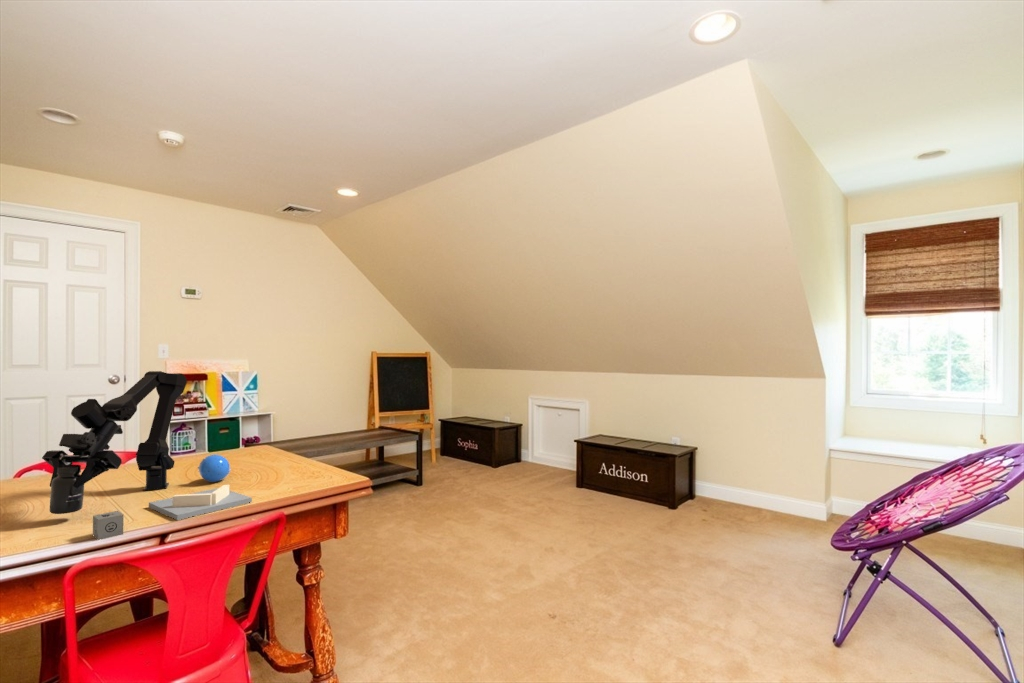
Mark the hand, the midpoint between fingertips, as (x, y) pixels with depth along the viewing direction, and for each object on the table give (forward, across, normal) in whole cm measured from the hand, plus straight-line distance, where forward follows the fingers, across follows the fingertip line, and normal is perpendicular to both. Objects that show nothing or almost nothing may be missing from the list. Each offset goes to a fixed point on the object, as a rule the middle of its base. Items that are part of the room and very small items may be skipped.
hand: (63, 486), depth 136 cm
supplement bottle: (+4, 0, +6) cm, 7 cm away
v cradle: (-4, +28, +18) cm, 33 cm away
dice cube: (+13, +20, 0) cm, 24 cm away
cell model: (-23, +14, +38) cm, 47 cm away
